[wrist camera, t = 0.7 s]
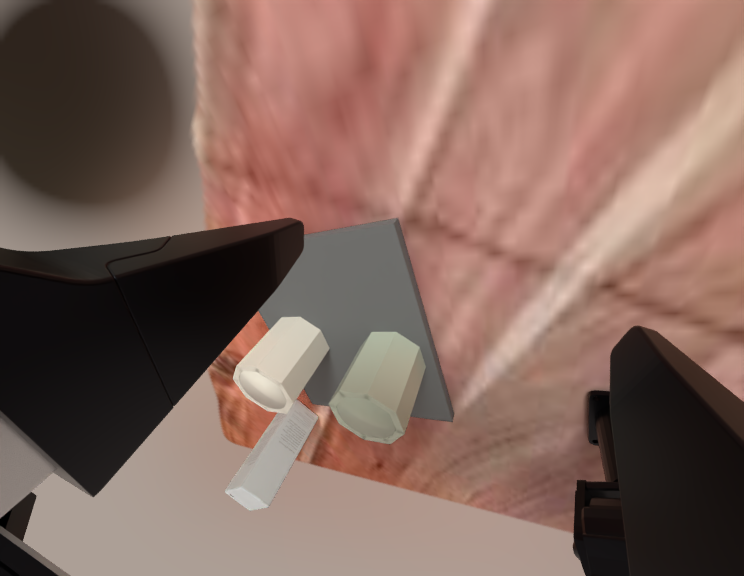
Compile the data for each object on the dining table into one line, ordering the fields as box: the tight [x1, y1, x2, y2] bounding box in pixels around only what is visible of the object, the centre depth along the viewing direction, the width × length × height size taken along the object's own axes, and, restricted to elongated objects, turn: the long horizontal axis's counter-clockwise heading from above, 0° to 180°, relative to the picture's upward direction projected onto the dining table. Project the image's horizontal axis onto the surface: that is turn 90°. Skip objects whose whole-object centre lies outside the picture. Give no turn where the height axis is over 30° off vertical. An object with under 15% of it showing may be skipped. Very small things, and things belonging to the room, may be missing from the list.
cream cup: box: [233, 317, 330, 414], centre depth 32 cm, size 6×6×7 cm
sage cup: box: [329, 332, 426, 444], centre depth 28 cm, size 6×6×7 cm
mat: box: [258, 218, 454, 422], centre depth 33 cm, size 22×18×1 cm
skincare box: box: [225, 400, 318, 511], centre depth 42 cm, size 6×4×12 cm
